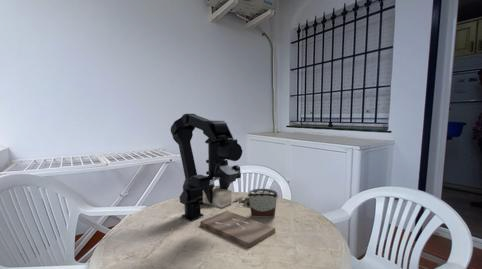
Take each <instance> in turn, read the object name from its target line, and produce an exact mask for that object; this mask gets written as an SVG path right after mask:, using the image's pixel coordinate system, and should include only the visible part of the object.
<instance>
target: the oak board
mask: <svg viewBox="0 0 482 269" xmlns="http://www.w3.org/2000/svg"><path fill="white" fill-rule="evenodd" d="M199 224H200V226H201V227H203V228H205V229H208V230H210V231H212V232H214V233H216V234H218V235H220V236H222V237H225V238H227V239H228V240H231V241H232V242H236V243H237V244H240V245H242V246H243V247H245V248H248V249H249V248H252V247H253V246H256V245H257V244H259V243H260V242H262V241H263V240H265V239H267V238H268V237H269V236H271V235H272V234H275V233H276V227H274V226H270V225H269V224H265V223H263V222H260V221H257V220H254V219H251V218H248V217H247V216H243V215H241V214H238V213H235V212H232V211H229V210H225V211H223V212H220V213H218V214H215V215H213V216H210V217H207V218H205V219H203V220H201V221H200V222H199Z"/></svg>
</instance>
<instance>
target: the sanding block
mask: <svg viewBox="0 0 482 269" xmlns="http://www.w3.org/2000/svg"><path fill="white" fill-rule="evenodd" d="M203 204H204V205H207V206H210V207H213V208H216V209H219V210H223V209H226V208H228V207H230V206H232V190H229V189H228V190H226V189H222V188H218V187H214V188H213V200H212V203H209V201H208V199H207V197H206V195H205V193H204V191H203Z"/></svg>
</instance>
